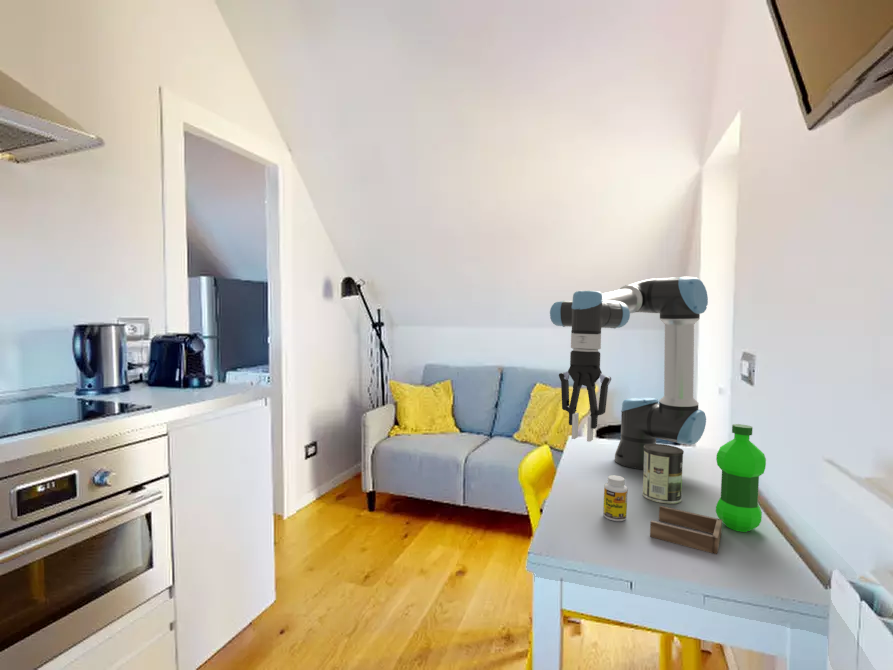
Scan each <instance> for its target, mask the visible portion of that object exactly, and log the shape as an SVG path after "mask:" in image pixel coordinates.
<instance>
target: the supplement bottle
mask: <svg viewBox="0 0 893 670" xmlns="http://www.w3.org/2000/svg"><path fill="white" fill-rule="evenodd" d="M603 488H604V489H603V509H602V510H603V511H602V512H603V514H602V515H603V516H604V517H605V519H607V520H610V521H613V522H622V521H626V519H627V513H628V511H627V510H628V489H629V488H628V486H626V485H625V478H624V477H623V476H620V475H614V474H613V475H608V477H607V482H606V483H605V484H604V487H603Z"/></svg>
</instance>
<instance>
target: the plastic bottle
mask: <svg viewBox="0 0 893 670" xmlns="http://www.w3.org/2000/svg"><path fill="white" fill-rule="evenodd" d="M731 426H732V427H731V429H732V430H731V433H732V434H734V437H733V439H731V440H729V441H727V442H726V443H724V444H723V445H721V446H720V447H719V449H718V451H717V452H716V458H715V460H716V464H717V466H718V467H719V469H720V470H721V483H720V497H719V499H718V501H717V503H716V506H715V513H716V516H717V518H718V519H722V524H724V525H725V527H727V528H729V529H731V530H733V531H736V532H741V533H742V532H743V533H748V532H747V531H749V532H750V531H752V530H755V529H756V528H757V527H759V526H760V524H761V522H762V518H763V517H762V515H763V512H762V509H761V506H760V505H759V486H760V485H759V483H760V477H761V476H762V475H763V474H765V470H766V466H767V458H766V456H765V453H763V451H762V450H761V449H760V448H759V447H758V446H756V445H755V444H754V443H753V442H752V441H751V440H750V437H751V436H753V429H754V428H753V426H751V425H748V424H739V423H734V424H732V425H731Z"/></svg>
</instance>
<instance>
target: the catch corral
mask: <svg viewBox="0 0 893 670" xmlns="http://www.w3.org/2000/svg"><path fill="white" fill-rule="evenodd" d="M658 511H659V512H658V521H655V520H650V529H649V537H650V538H654V539H658V540H660V541H661V540H662V541H665V542H668V543H672V544H676V545H679V546H684V547H688V548H692V549H695V550H699V551H703V552H706V553H711V554H714V555H718V552H719V547H720V543H721V538H722V531H723V530H722V528H723V522H722V519H719V518H718V517H717V518H716V517H712V516H707V515H705V514H704V515H703V514H701V513H700V514H699V513H694V512H690V511H686V510H682V509H677V508H672V507H668V506H663V505H659V510H658ZM679 526H680V527H679ZM687 528H688V529H687ZM692 529H693V530H692Z"/></svg>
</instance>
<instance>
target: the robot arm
mask: <svg viewBox="0 0 893 670" xmlns="http://www.w3.org/2000/svg"><path fill="white" fill-rule="evenodd" d="M708 298H709V297H708V292H707V288H706V286H705V284H704V282H703V281H702V280H701V279H700V278H698V277H696V276H678V277H676V276H675V277H661V278H649V279H644V280H641V281H636V282H634V283H630V284H627V285H626V284H625V285H623V286H621V287H620V288H619V289H617V290H614V291H613V290H612V291H608V292H604V293H602V292H601V291H599V290H598V291H597V290H576V291H575V292H574V293H573V294H572V300H561V301H556V302H554V303H553V304H552V305H551V307H550V310H549V317H550V320H551V321H550V322H551V324H553V325H554V326H557V327H563V328H566V327H570V328H571V334H570V348H571V349H572V350H571V351H570V352H569V353H570V355H569V356H570V359H569V360H570V361H569V364H570V365H569V368H568V369H567V370H566V371H565V372H560V373H559V374H558V378H559V380H560V384H561V385H560V386H561V387H560V388H561V409H562V410H563V411H566V412H567V413H568V426H571V439H572V440H575V439H577V438H578V437H579V419H580V418H579V416H580V415H579V412H577V408H578V403H579V399H580V398H579V397H580V393H581V389H582V386H585V387H586V390H587V394H588V404H589V411H590V414H589V415H588V416H587V424H586V425H587V427H586V428H587V431H586V442H592V441H593V440H594V430H595V429H597V428H598V416H601V415H604V414H605V413H606V409H607V399H608V393H609V392H608V391H609V385H610V383H611V381H612V377H611V376H607V375H606V374H602V370H601V352H600V350H601V349H602V346H601V345H602V344H601V343H602V329H603V328H604V329H614V330H615V329H617V328H618V329H619V328H622V327H624V326H626V325H627V323H628V322H629V320H630V316H631V314H633V313H634V314H635V313H645V314H646V313H647V314H659V320H660V321H661V322H662V323H663V324H664V365H663V367H664V368H663V369H664V372H663V373H664V374H663V376H664V380H663V381H664V383H663V384H664V385H663V387H664V388H663V397H661V398H660V399H659V400H658V399H657V398H656V397H631V398H626V399H624V400H623V401H622V403H621V405H622V406H621V410H620V412H621V421H620V440H619V442H618V446H617V448H616V451H615V453H614V461H615V463H617V464H618V465H621V466H624V467H627V468H630V469H636V470H644V445H647V444H657V439H660V440H664V441H669V442H673V443H677V444H680V445H681V444H683V445H689V446H693V445H695V444H696V443H698V442H699V441H700V440H701V438H702V436H703V435H704V432H705V430H706V424H707V416H706V413H705V412H704V411H703V410H701V409H699V402H698V400H696V399H695V397H694V378H695V376H694V374H695V373H694V372H695V371H694V368H695V367H694V366H695V365H694V364H695V363H694V362H695V356H694V355H695V352H694V351H695V324H696V323H697V322H698V321H699V320H700V315H701V314H703V313H705V312H706V311H707V307H708V305H709V304H708V303H709V300H708ZM570 378H571V379H572V381H573V384H572V392H571V398H570V385H569V379H570ZM599 379H600V380H599ZM598 380H599V381H600V384H601V385H600V389H599V399H598V402H597V394H596V382H597V381H598Z"/></svg>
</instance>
